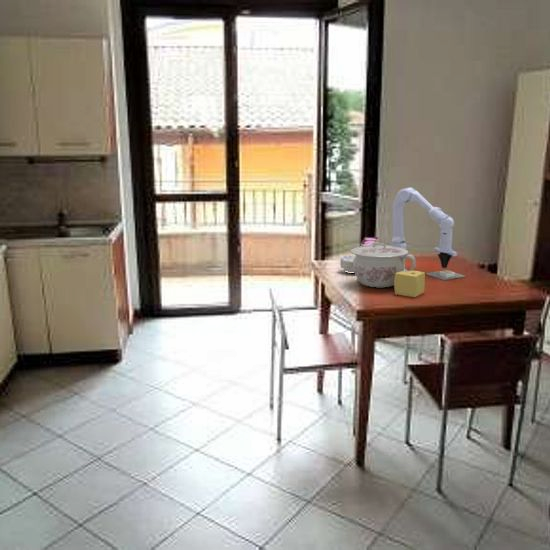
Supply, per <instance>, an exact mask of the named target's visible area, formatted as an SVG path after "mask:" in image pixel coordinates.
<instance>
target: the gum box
mask: <svg viewBox="0 0 550 550" xmlns="http://www.w3.org/2000/svg"><path fill="white" fill-rule="evenodd" d="M375 243H379V236H378V237H376V236H365V237H364V238H363V240H362V242H361V243H360V246H366V245H374V244H375Z"/></svg>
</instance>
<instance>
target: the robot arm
mask: <svg viewBox="0 0 550 550" xmlns="http://www.w3.org/2000/svg"><path fill="white" fill-rule="evenodd" d="M408 202H411V203H412V202H413V203H417V204H418V205H419V206H420V207H422V208H423V209H424V210H426V211H427V212H428V216H429V217H430V218H431V219H432V220H434V222H436V223H437V224H438V225H439V228H440V232H439V233H440V237H439V238H440V239H439V247H438V246H437V247H433V252H435V253H438V254H437V256H438V259H439V260H440V264H441V268H442V269H447V268H448V265H449V262H450V260H451V258H452V257H457V256H458V251H455V250H454V249H452V243H453V227H454V225H455V220H454V219H453V217H452V216H449V214H446V213H444V211H442V208H441V207H438V206H433V205H432V204H431V203H430V202H429V201H428V200H427V199H426V198H425V197H424V196H423V195H422V194H421V193H420V192H419V191H417V190H416V189H415V188H414V187H407V188H406V187H405V188H401V189H400V190H399V191H398V192H396V196H395V197H394V199H393V202H392V226H393V227H392V230H393V232H392V233H393V236H392V239H391V243H390V246H396V247H400V248H403V249H406V250H408V245H407V242H406V238H405V236H404V235H405V234H404V231H405V230H404V206H405V205H406V204H407V203H408ZM404 256H405V255H404ZM404 256H403V257H404ZM408 270H409V269H406V268H404V271H408Z"/></svg>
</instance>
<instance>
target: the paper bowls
mask: <svg viewBox="0 0 550 550" xmlns="http://www.w3.org/2000/svg"><path fill="white" fill-rule="evenodd" d="M355 256H356V255H354V254H350V255H343V256H341V257H340V263H339V265H340V268H342V269H343V270H345V271H348V272H354V267H353V260H354V258H355ZM345 271H344V272H345Z"/></svg>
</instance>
